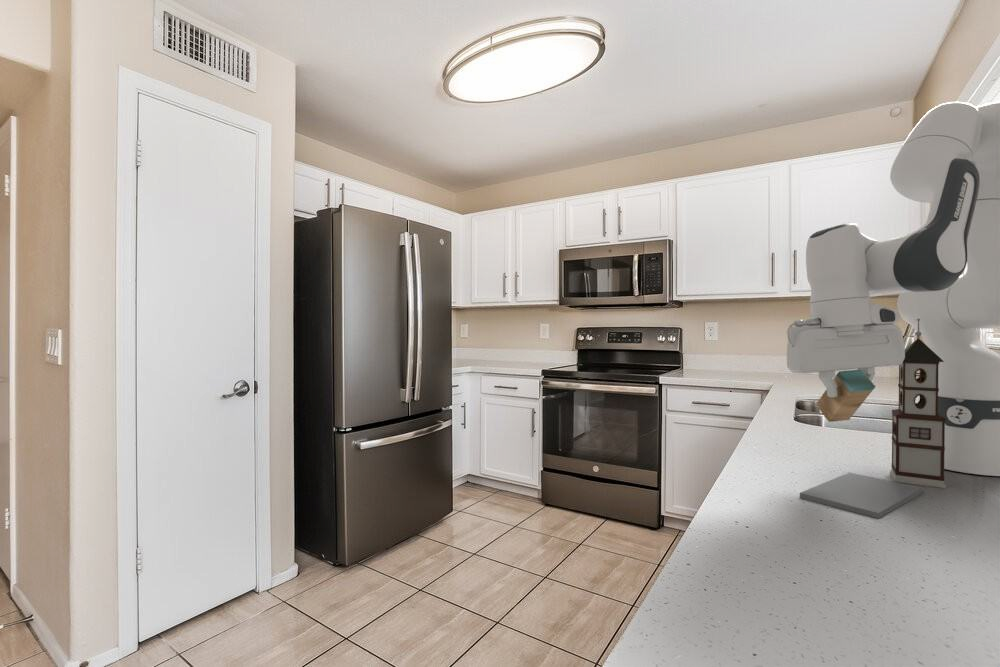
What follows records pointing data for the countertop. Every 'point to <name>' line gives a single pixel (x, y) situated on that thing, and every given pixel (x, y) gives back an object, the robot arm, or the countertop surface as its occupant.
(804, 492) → the rubber mat
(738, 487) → the countertop surface
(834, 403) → the oak block
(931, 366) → the miniature building
